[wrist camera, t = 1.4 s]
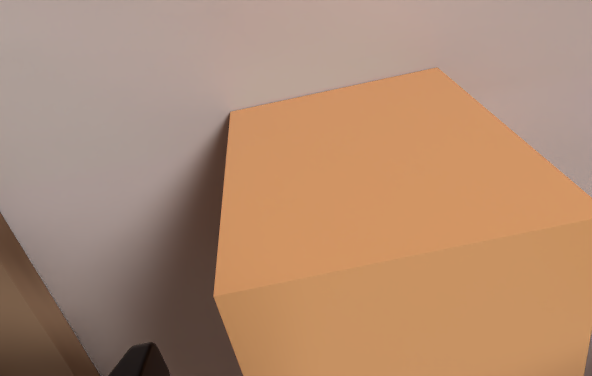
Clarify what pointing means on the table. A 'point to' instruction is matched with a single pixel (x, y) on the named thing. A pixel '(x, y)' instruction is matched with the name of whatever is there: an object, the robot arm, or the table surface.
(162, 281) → the table surface
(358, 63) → the table surface
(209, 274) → the table surface
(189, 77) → the table surface
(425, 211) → the orange block
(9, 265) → the board
